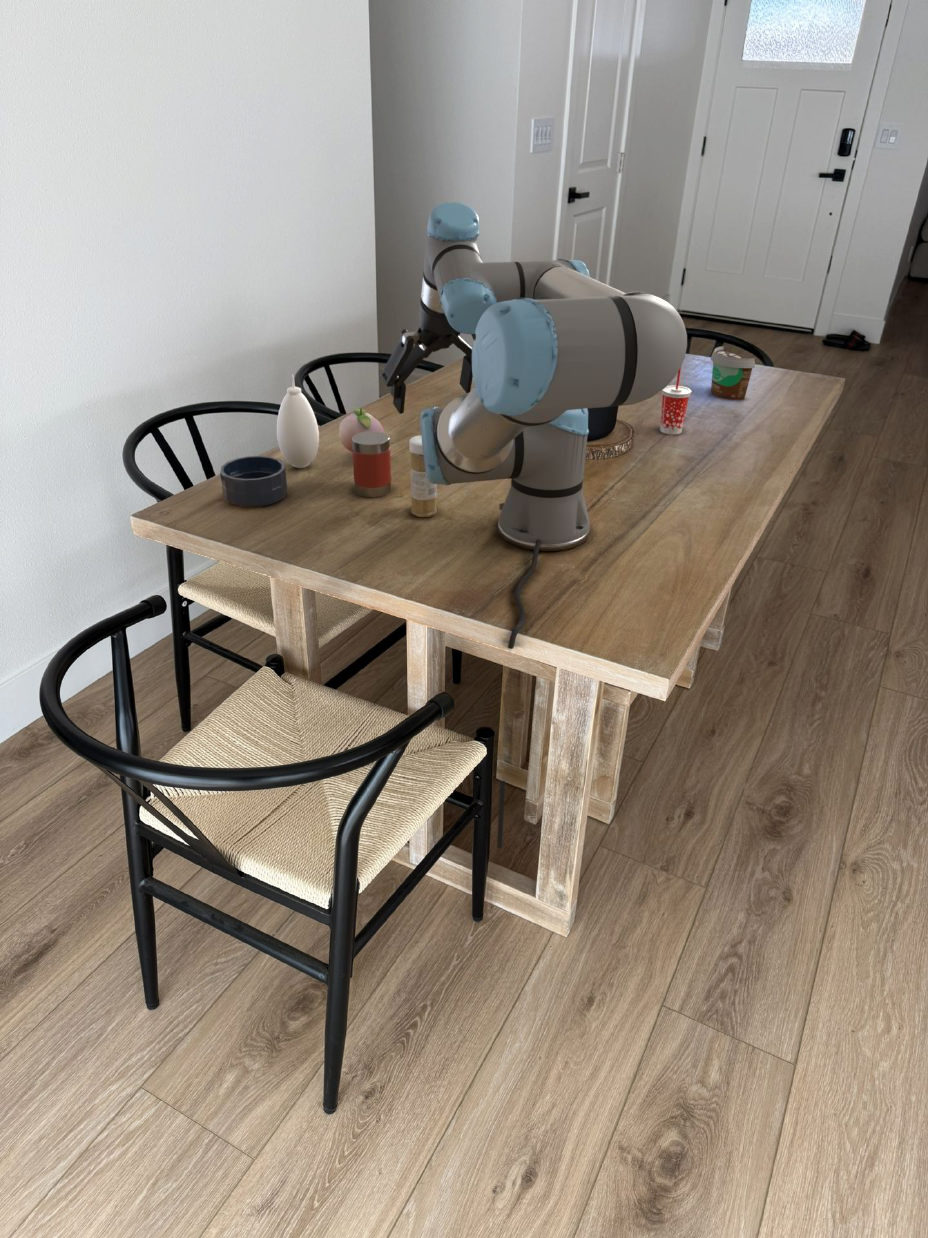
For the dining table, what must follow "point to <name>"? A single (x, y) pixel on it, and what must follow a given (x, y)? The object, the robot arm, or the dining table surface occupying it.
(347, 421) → the decorative fruit
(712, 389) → the food container
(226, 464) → the bowl
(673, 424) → the beverage cup
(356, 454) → the tin can
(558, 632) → the dining table surface
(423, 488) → the sprinkles bottle
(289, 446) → the sauce bottle
